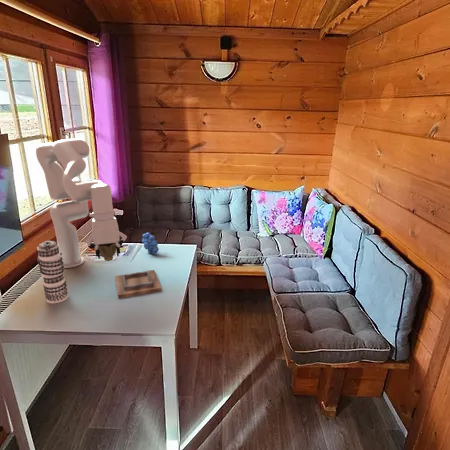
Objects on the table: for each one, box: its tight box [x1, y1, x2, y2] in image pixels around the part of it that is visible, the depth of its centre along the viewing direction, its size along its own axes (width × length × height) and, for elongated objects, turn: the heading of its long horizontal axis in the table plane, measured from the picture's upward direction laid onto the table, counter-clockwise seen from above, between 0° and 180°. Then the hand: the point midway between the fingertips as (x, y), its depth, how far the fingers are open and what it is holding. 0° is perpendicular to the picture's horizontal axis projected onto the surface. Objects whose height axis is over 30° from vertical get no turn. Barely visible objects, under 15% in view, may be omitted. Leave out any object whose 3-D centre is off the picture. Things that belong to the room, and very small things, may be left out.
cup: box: [98, 243, 117, 262], centre depth 144 cm, size 8×7×8 cm
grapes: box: [141, 231, 160, 255], centre depth 187 cm, size 12×7×12 cm, turn 54°
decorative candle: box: [36, 240, 69, 305], centre depth 143 cm, size 9×9×25 cm
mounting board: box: [114, 269, 162, 299], centre depth 158 cm, size 18×18×3 cm
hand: (108, 256), depth 145 cm, fingers closed on cup, 6 cm apart
